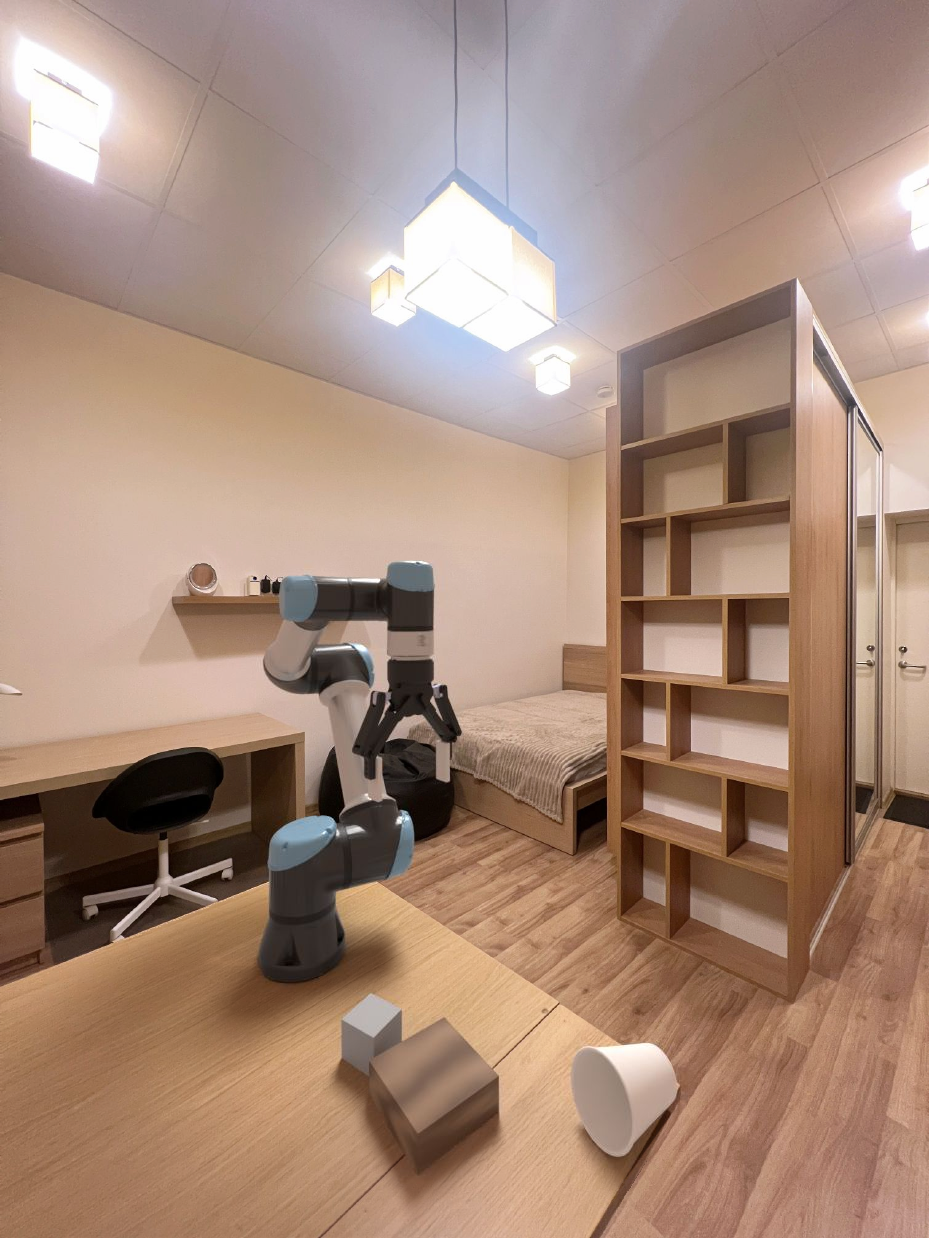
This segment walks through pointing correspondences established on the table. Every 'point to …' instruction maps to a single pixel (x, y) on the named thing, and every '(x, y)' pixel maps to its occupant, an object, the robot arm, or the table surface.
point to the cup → (621, 1092)
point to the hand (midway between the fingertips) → (410, 789)
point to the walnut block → (433, 1092)
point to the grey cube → (370, 1031)
